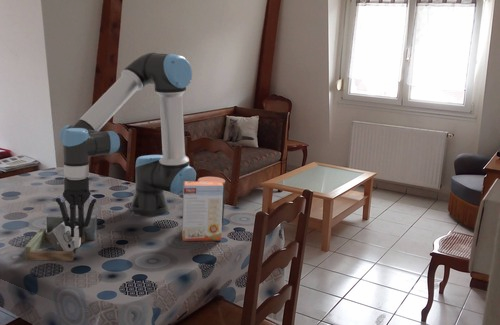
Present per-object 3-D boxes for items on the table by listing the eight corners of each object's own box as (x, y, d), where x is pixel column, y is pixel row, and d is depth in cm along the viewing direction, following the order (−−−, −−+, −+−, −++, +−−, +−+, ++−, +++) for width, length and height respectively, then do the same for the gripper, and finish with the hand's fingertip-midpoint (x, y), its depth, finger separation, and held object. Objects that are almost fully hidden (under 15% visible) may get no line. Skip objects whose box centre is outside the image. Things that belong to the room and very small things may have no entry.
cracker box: (219, 235, 191) (222, 180, 187) (221, 241, 186) (224, 185, 181) (181, 235, 189) (183, 180, 184) (182, 241, 183) (184, 184, 179)
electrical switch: (68, 255, 164) (59, 228, 162) (53, 258, 165) (44, 231, 163) (80, 244, 173) (72, 218, 171) (66, 247, 174) (58, 221, 172)
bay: (85, 240, 179) (85, 229, 178) (72, 260, 162) (72, 248, 161) (41, 239, 177) (41, 228, 176) (24, 259, 161) (24, 247, 160)
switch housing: (97, 235, 183) (97, 214, 182) (94, 240, 179) (93, 218, 177) (50, 234, 182) (50, 212, 180) (46, 239, 177) (46, 217, 176)
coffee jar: (196, 219, 207) (197, 176, 203) (222, 220, 208) (225, 177, 204) (195, 228, 196) (197, 183, 192) (223, 229, 197) (225, 184, 193)
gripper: (99, 174, 169) (100, 242, 174) (58, 173, 168) (60, 241, 173) (94, 180, 161) (95, 251, 167) (52, 179, 160) (54, 250, 165)
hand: (77, 246), depth 170 cm, fingers closed
